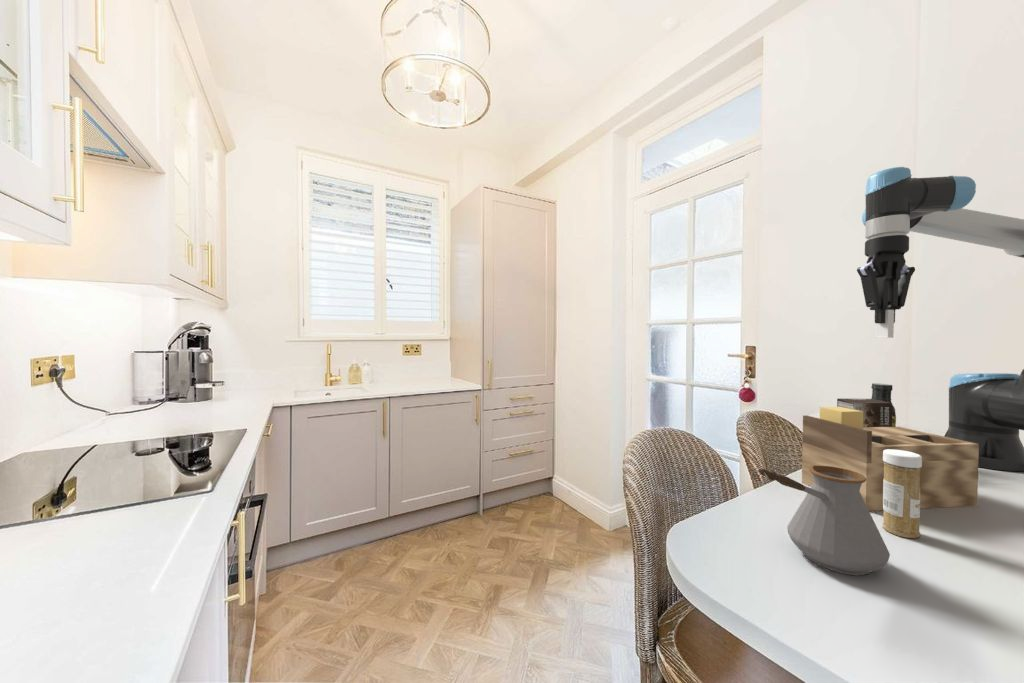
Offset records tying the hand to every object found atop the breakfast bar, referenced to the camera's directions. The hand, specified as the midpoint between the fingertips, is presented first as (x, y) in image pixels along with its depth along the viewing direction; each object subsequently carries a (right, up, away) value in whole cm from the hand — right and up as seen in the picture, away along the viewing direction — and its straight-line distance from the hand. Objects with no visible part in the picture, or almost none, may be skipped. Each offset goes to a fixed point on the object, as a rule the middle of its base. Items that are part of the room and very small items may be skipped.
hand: (884, 337), depth 91 cm
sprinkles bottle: (-23, -33, -27) cm, 49 cm away
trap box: (-11, -33, -11) cm, 36 cm away
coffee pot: (-46, -33, -36) cm, 67 cm away
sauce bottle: (+11, -32, +13) cm, 36 cm away
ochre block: (-18, -21, -9) cm, 28 cm away
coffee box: (+3, -33, +9) cm, 34 cm away
